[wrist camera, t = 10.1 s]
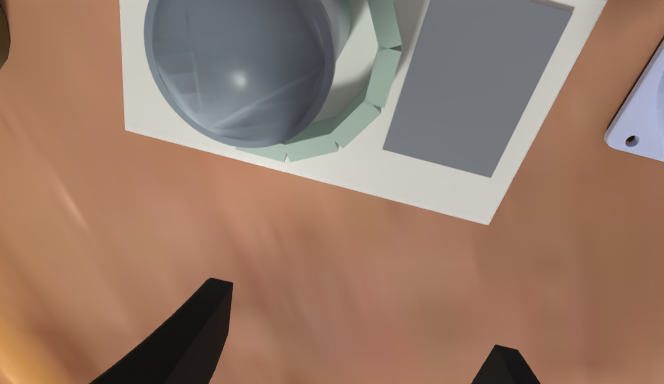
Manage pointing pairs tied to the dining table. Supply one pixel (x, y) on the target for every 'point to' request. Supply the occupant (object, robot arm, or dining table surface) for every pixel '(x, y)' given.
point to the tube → (246, 63)
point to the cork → (3, 38)
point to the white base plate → (408, 99)
